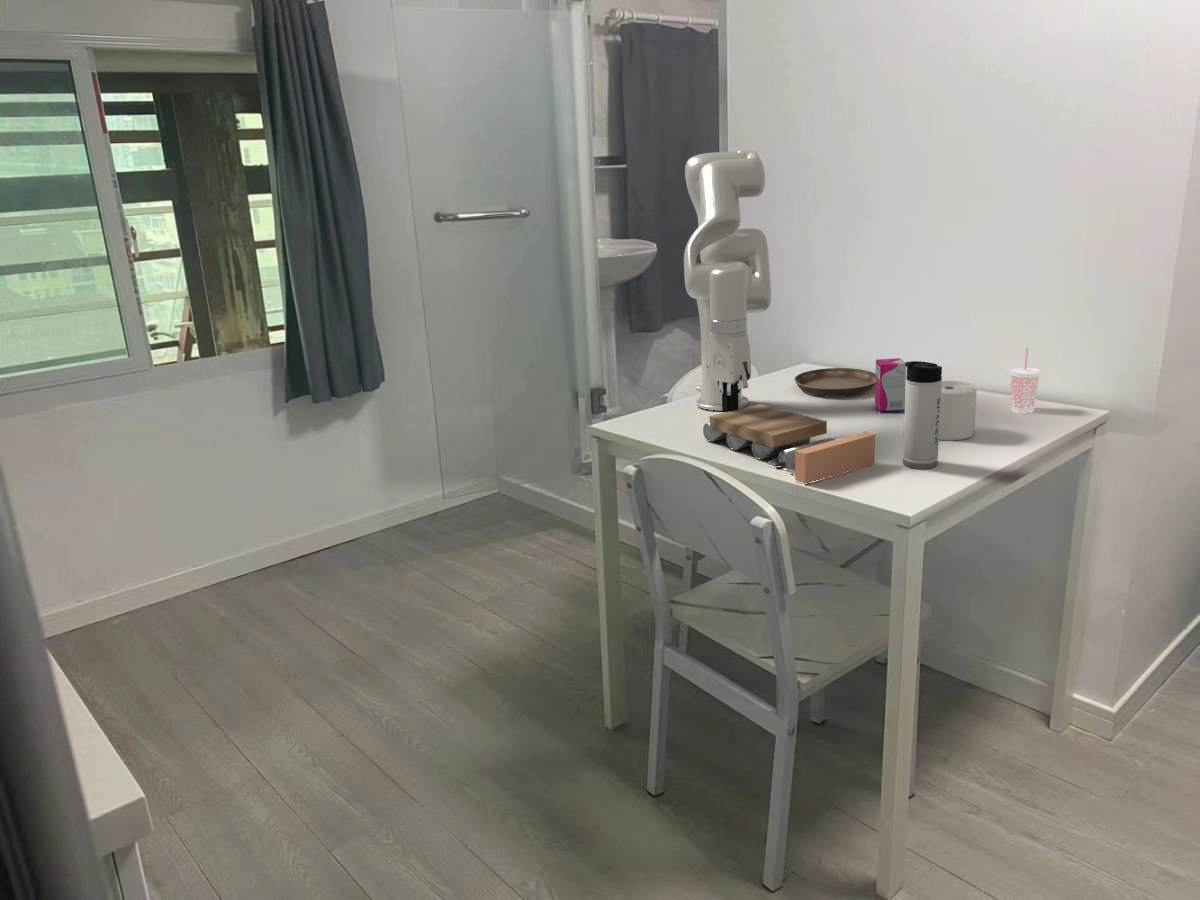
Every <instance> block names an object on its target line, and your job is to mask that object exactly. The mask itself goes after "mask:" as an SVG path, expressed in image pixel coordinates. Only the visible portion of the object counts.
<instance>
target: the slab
mask: <svg viewBox="0 0 1200 900" xmlns="http://www.w3.org/2000/svg"><path fill="white" fill-rule="evenodd" d="M708 418H709V423H710V428H713V429H716V430H719V431H722V432H725V433H728V434H731V435H735V436H738V437H741V438H744V439H747V440H750V441H753V442H757V443H760V444H763V445H766V446H769V447H772V448H774V447H778V446H782V445H785V444H789V443H793V442H797V441H800V440H804V439H808V438H810V439H811V438H815V437H818V436H822V435H826V434H827V433H828V426H827V425H828V424H827V423H828V422H827V420H822V419H818V418H815V417H812V416H808V415H803V414H800V413H796V412H792V411H788V410H785V409H782V408H778V407H777V408H776V407H773V406H770V405H765V404H762V403H760V404H754V405H750V406H745V407H743V408H740V409H738V410H733V411H729V412H722V413H717V414H713V415H710V416H709V417H708Z"/></svg>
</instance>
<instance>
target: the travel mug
mask: <svg viewBox="0 0 1200 900" xmlns="http://www.w3.org/2000/svg"><path fill="white" fill-rule="evenodd" d="M904 362H905V361H904ZM905 366H906V389H905V412H904V422H903V423H904V424H903V427H904V428H903V443H902V444H903V445H902V446H903V449H902V464H903V466H904V467H905V466H906V467H907V468H910V469H914V468H915V469H916V470H928V469H929V470H931V469H933V468H935V467H936V466H938V463H939V462H938V461H939V459H938V456H939V441H940V439H939V424H940V405H941V386H942V383H941V382H942V381H943V380H942V377H943V376H942V374H943V368H942V365H938V364H937V363H934V362H928V361H915V360H914V361H913V360H912V361H906V362H905Z"/></svg>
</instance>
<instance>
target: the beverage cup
mask: <svg viewBox="0 0 1200 900" xmlns="http://www.w3.org/2000/svg"><path fill="white" fill-rule="evenodd" d="M1028 354H1029V348H1028V347H1026V348H1025V355H1024V366H1023V367H1014V368H1011V369H1010V370H1009V374H1010V410H1011V409H1012V410H1014V411H1018V412H1017V413H1019V412H1029V413H1031V412H1030V411H1033V412H1034V410H1035V404H1036V403H1035V402H1036V396H1037V389H1038V386H1039V385H1038V383H1039V376H1041V372H1042V371H1041V369H1038V368H1032V367H1028V357H1029V355H1028ZM1012 410H1011V411H1012ZM1014 411H1013V412H1014Z"/></svg>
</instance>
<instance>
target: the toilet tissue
mask: <svg viewBox="0 0 1200 900" xmlns="http://www.w3.org/2000/svg"><path fill="white" fill-rule="evenodd" d="M941 383H942V386H941V405H940V424H939V441H940V440H944V441H958V440H966V439H969V438H972V437H973V436H974V434H975V422H976V421H975V420H976V406H977V405H976V404H977V391H978V390H977V388H978V387H977V386H976V384H975V385H974V384H973V383H969V382H966V381H965V382H964V381H957V380H942V382H941Z"/></svg>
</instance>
